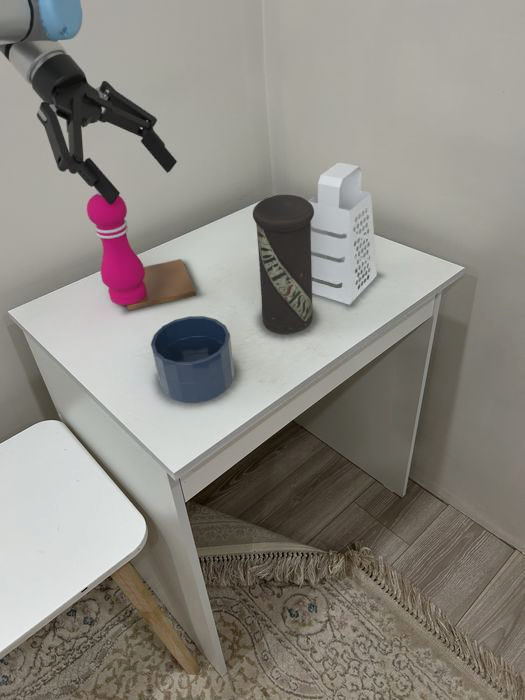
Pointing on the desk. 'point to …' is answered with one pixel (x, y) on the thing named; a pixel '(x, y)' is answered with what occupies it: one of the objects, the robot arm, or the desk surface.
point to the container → (285, 262)
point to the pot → (193, 358)
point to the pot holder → (165, 284)
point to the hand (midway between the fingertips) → (145, 182)
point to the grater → (342, 234)
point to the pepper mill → (117, 251)
